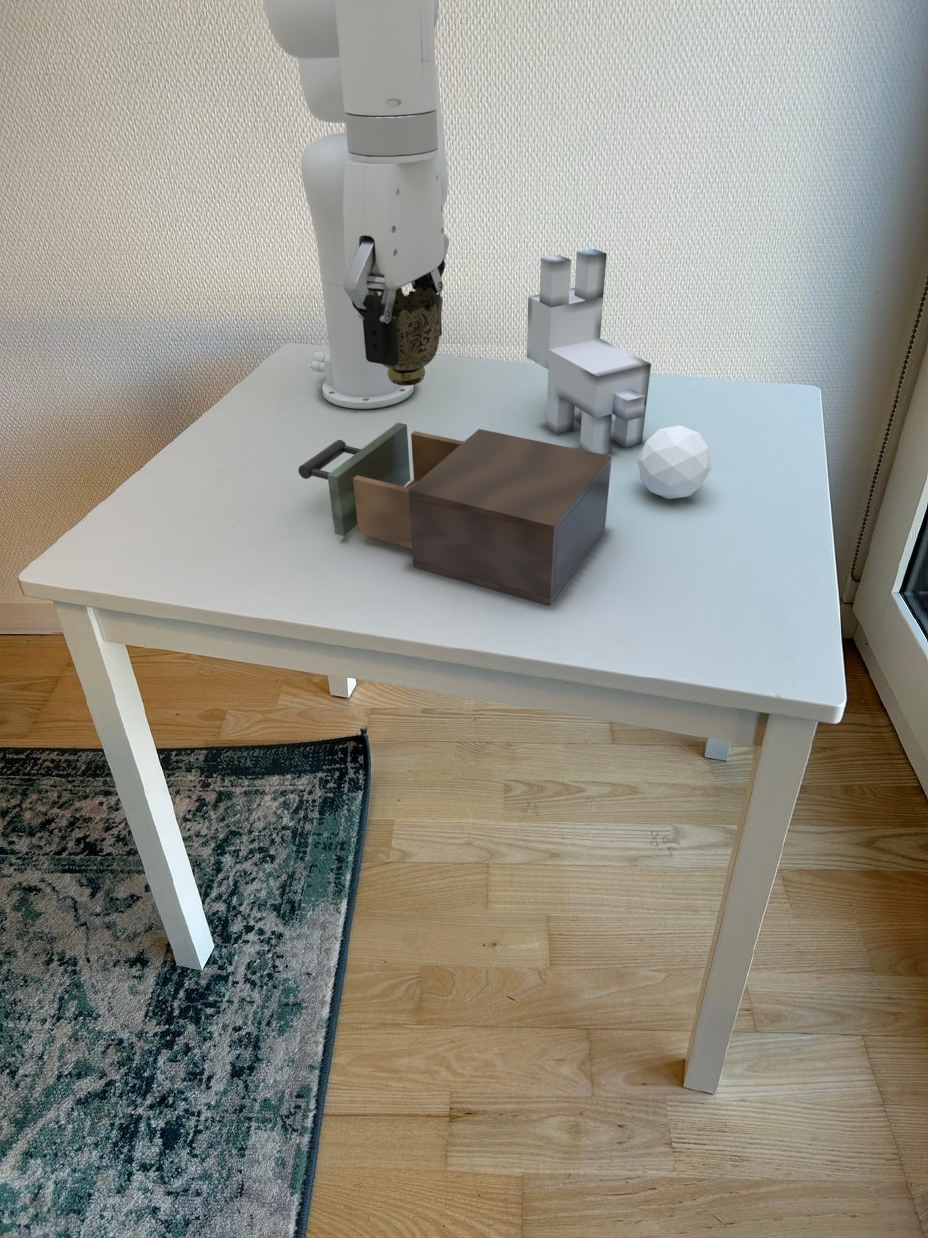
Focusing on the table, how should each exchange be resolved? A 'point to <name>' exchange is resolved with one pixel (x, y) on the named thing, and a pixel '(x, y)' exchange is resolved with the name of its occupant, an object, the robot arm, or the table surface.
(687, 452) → the geometric ball
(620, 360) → the toy llama
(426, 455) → the drawer
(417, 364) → the cup
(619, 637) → the table surface
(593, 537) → the cabinet
